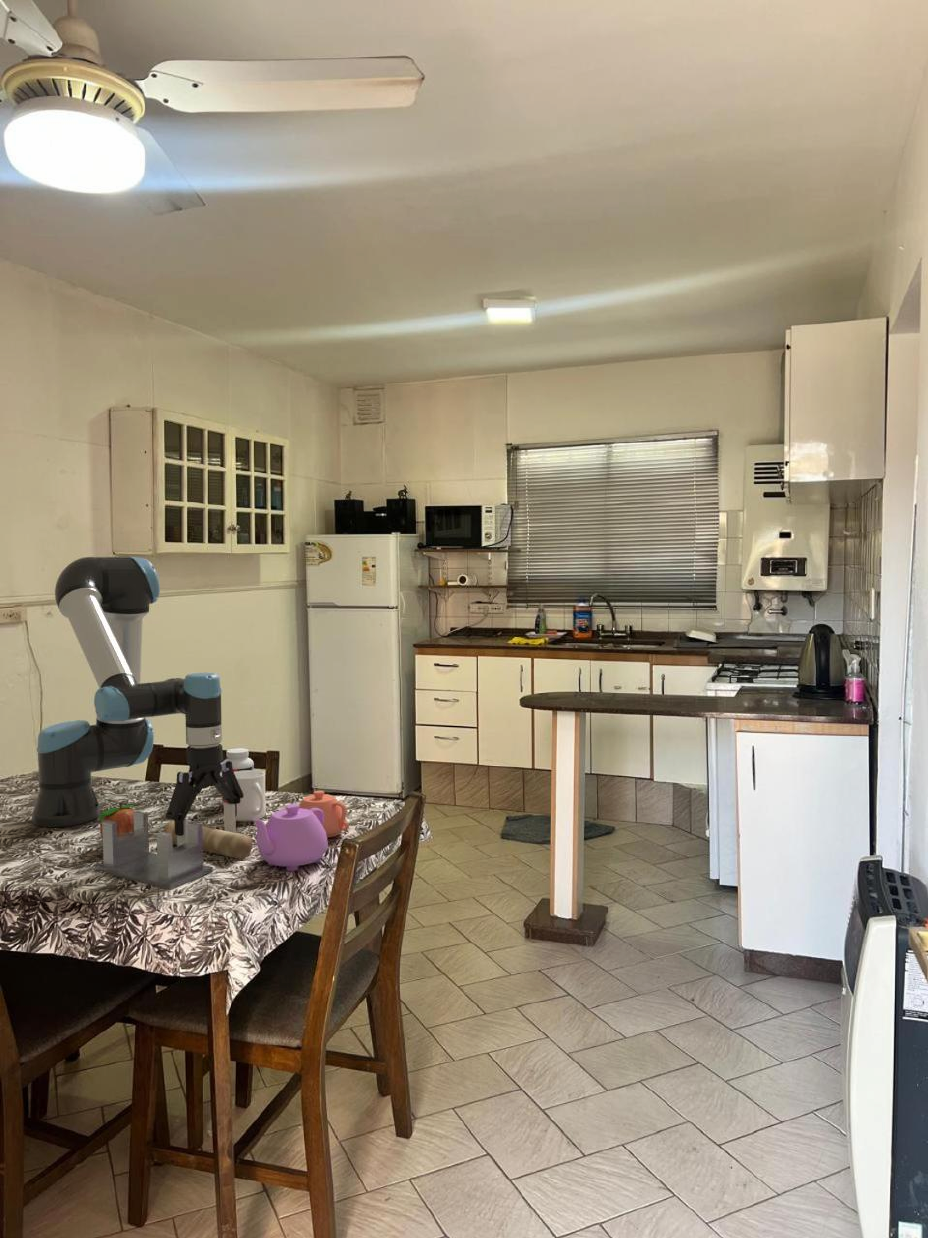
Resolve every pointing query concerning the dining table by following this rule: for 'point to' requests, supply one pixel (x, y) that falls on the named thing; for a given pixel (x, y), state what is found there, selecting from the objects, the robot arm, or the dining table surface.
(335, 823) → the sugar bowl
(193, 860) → the bracket stand
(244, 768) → the pill bottle
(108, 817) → the fruit
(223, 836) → the baguette
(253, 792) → the mug
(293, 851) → the teapot
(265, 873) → the dining table surface
